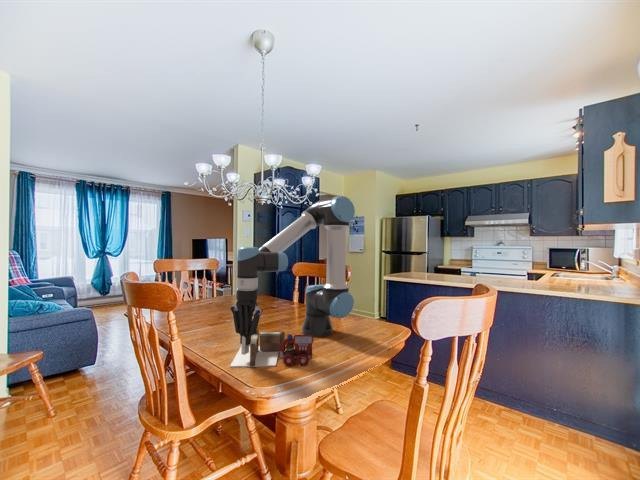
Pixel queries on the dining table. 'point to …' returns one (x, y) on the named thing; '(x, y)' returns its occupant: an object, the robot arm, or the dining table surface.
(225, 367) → the dining table surface
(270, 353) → the card
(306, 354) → the toy fire truck
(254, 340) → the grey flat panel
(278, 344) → the fence fixed section
